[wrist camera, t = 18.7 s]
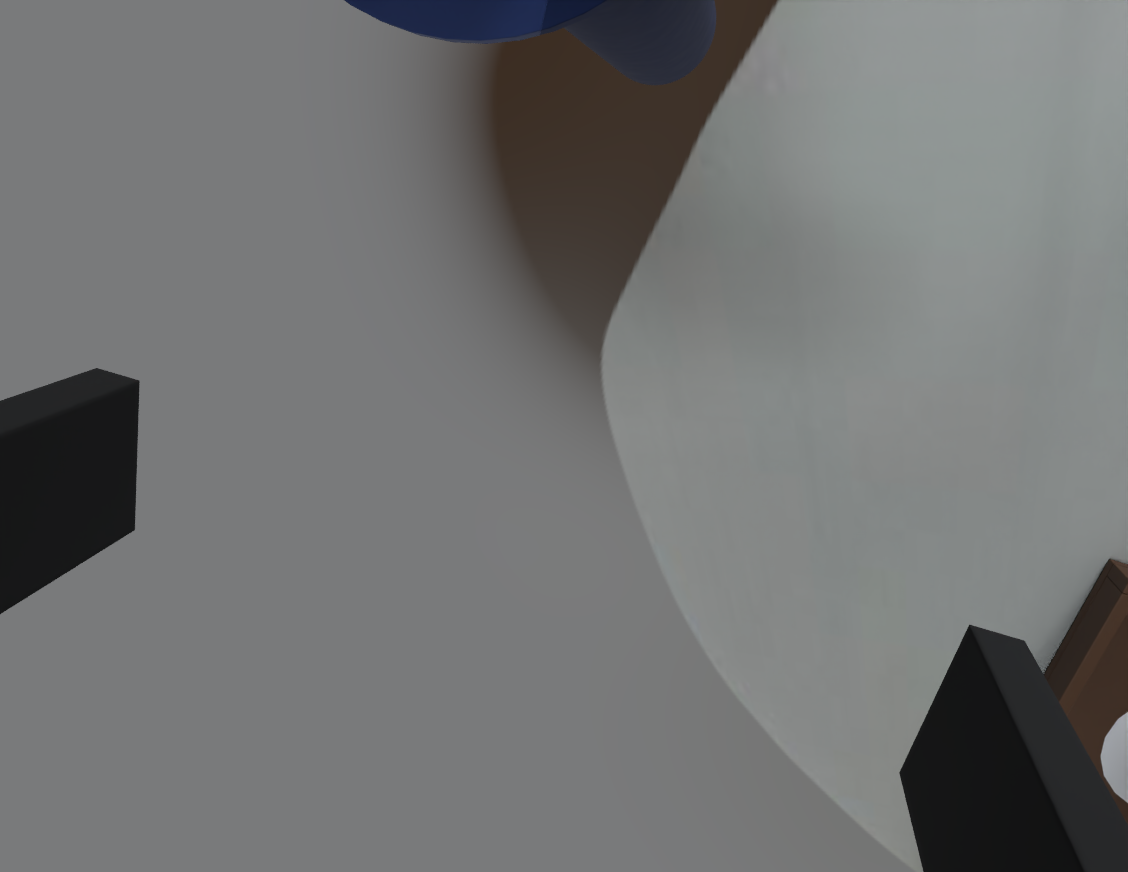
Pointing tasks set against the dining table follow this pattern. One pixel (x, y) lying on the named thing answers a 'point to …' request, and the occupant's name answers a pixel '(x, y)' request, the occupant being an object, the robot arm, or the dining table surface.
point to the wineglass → (1117, 757)
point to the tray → (1096, 666)
